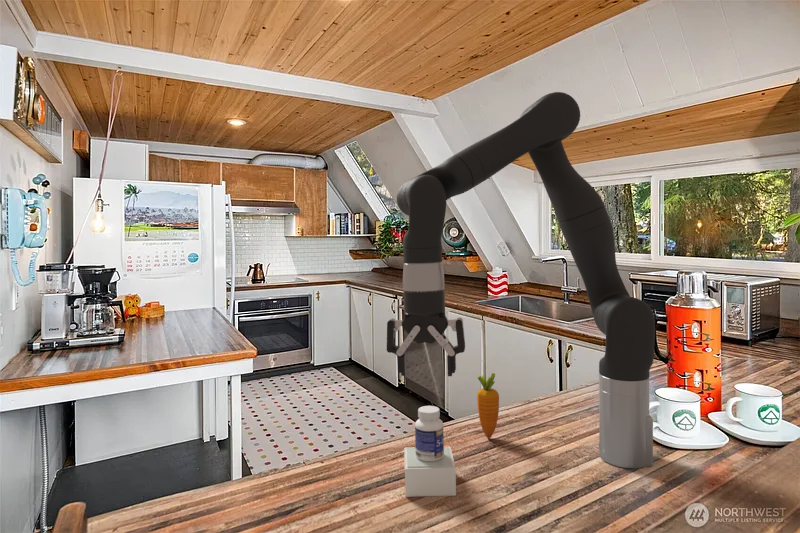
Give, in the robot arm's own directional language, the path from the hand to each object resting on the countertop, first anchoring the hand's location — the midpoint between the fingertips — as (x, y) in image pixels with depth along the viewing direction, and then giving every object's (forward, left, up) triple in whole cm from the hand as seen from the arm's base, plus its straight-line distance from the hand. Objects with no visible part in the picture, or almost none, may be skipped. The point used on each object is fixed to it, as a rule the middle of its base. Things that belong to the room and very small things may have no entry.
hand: (426, 375), depth 89 cm
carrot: (-11, -22, -21) cm, 32 cm away
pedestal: (0, 0, -21) cm, 21 cm away
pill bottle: (0, 0, -16) cm, 16 cm away
